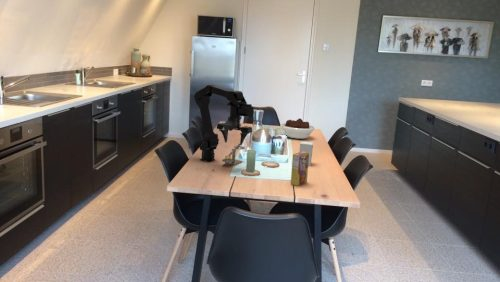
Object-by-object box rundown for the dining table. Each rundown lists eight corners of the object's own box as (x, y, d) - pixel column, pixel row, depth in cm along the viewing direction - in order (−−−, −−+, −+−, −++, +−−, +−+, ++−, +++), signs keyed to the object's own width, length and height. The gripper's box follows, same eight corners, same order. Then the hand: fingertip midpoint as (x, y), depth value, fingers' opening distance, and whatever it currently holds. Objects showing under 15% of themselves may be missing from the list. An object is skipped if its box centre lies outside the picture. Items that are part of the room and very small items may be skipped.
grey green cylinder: (244, 171, 216) (245, 150, 214) (250, 169, 219) (251, 149, 217) (250, 173, 213) (251, 152, 211) (256, 171, 216) (257, 151, 214)
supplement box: (310, 166, 239) (312, 144, 236) (297, 164, 240) (299, 143, 237) (311, 163, 246) (313, 142, 243) (298, 161, 247) (300, 141, 245)
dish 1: (237, 173, 214) (237, 171, 214) (245, 169, 223) (246, 167, 223) (254, 177, 210) (254, 175, 210) (262, 172, 219) (263, 171, 218)
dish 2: (258, 165, 233) (258, 163, 232) (265, 161, 241) (266, 160, 241) (275, 168, 228) (275, 167, 228) (281, 164, 237) (282, 163, 237)
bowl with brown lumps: (315, 142, 308) (317, 122, 305) (281, 140, 308) (283, 120, 305) (310, 136, 333) (312, 117, 330) (279, 133, 333) (281, 115, 330)
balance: (219, 166, 225) (220, 147, 223) (236, 159, 242) (237, 141, 240) (229, 168, 223) (230, 149, 221) (245, 161, 240) (246, 143, 238)
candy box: (299, 180, 209) (302, 151, 206) (307, 182, 206) (310, 152, 203) (289, 184, 202) (292, 153, 199) (297, 186, 199) (300, 155, 196)
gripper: (212, 114, 216) (210, 143, 219) (243, 118, 208) (242, 149, 212) (222, 112, 226) (221, 140, 229) (253, 116, 218) (251, 145, 221)
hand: (233, 143), depth 223 cm, fingers open, 9 cm apart
